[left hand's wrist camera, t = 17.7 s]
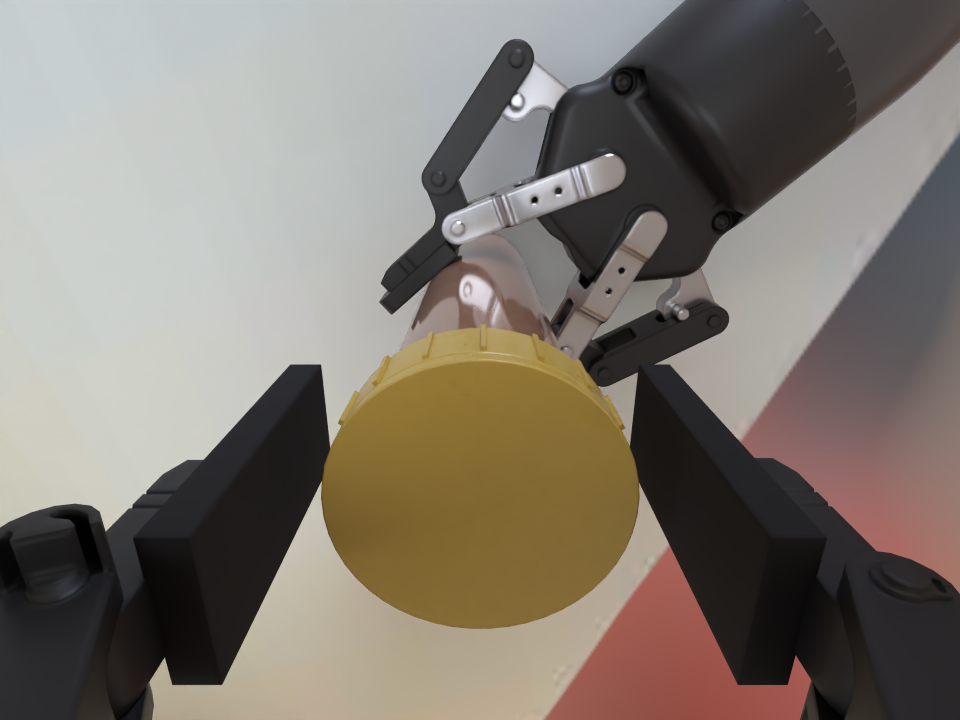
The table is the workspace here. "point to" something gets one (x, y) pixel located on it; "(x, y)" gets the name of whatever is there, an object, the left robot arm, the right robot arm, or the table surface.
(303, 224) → the table surface
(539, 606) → the lid
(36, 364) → the table surface
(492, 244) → the brown cylinder
